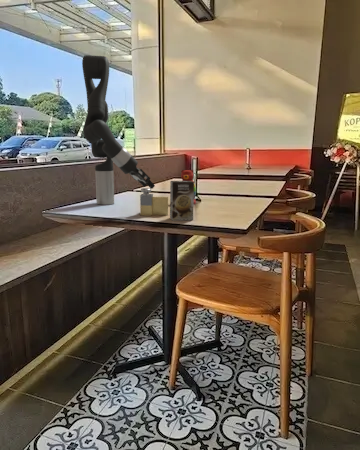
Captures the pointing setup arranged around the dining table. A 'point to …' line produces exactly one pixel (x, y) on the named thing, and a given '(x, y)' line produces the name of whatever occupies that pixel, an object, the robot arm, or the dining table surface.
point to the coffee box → (181, 200)
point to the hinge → (153, 205)
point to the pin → (145, 191)
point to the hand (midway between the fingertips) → (149, 186)
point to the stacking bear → (188, 179)
